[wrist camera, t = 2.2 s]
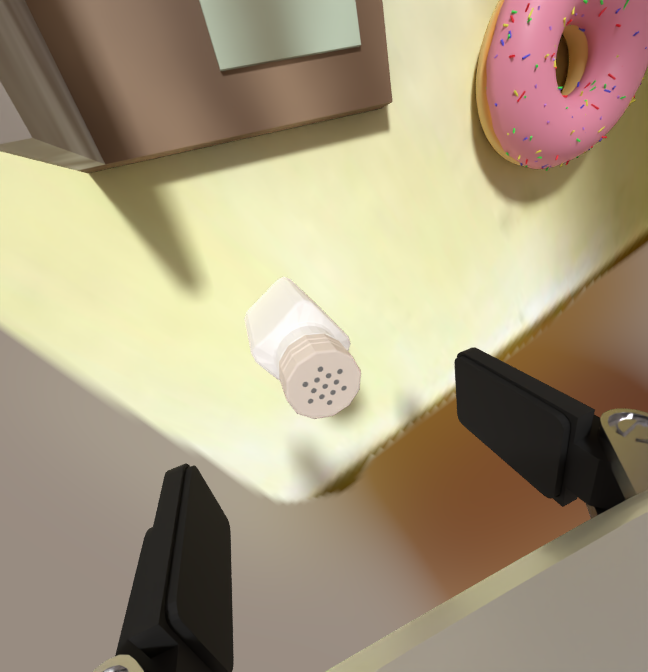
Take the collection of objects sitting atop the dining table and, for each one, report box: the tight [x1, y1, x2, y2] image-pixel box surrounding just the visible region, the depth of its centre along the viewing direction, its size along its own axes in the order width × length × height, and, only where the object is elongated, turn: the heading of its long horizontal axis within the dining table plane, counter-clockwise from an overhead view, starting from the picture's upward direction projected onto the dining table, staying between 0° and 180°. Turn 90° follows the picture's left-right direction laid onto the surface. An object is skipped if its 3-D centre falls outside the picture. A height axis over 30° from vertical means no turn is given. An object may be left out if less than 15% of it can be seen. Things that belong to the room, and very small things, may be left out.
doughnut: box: [476, 0, 648, 171], centre depth 18 cm, size 11×11×4 cm
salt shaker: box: [244, 277, 361, 419], centre depth 16 cm, size 4×4×10 cm
